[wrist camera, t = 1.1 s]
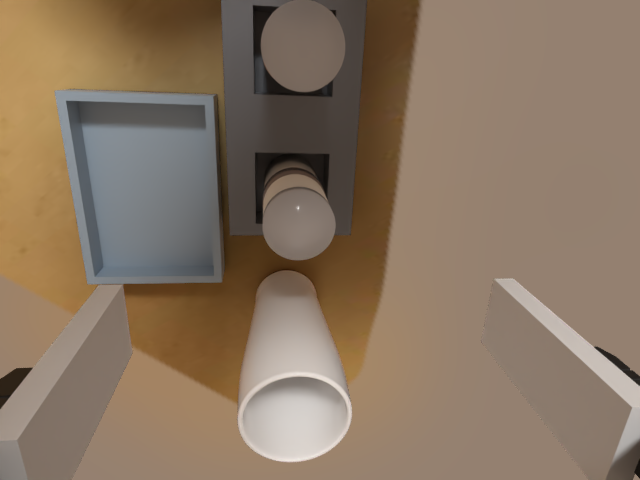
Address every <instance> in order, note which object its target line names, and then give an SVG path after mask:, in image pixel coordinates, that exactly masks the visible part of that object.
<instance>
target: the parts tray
mask: <svg viewBox="0 0 640 480" xmlns="http://www.w3.org/2000/svg"><path fill="white" fill-rule="evenodd" d="M55 96H56V102H57V108H58V114H59V120H60V125H61V131H62V137H63V143H64V149H65V155H66V161H67V166H68V172H69V178H70V184H71V190H72V196H73V201H74V207H75V213H76V219H77V225H78V231H79V236H80V242H81V248H82V254H83V260H84V266H85V272H86V277H87V283H88V284H146V283H219V282H222V280H223V276H224V271H225V260H224V237H223V214H222V191H221V168H220V145H219V121H218V98H217V94H196V93H168V92H139V91H111V90H83V89H66V90H56V91H55Z"/></svg>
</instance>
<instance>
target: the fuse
mask: <svg viewBox="0 0 640 480" xmlns="http://www.w3.org/2000/svg"><path fill="white" fill-rule="evenodd" d="M261 53H262V58H263V62H264V65H265V67H266V69H267V71H268V72H269V74H270V75H271V76H272V77H273V78H274V79H275V80H276V81H277V82H278V83H279V84H281V85H282V86H284V87H285V88H287V89H290V90H293V91H297V92H310V91H315V90H318V89H320V88H322V87H324V86H325V85H327V84H328V83H329V82H331V81H332V80H333V78H334V77H335V76H336V75H337V73H338V72H339V70H340V68H341V66H342V63H343V60H344V56H345V37H344V33H343V30H342V27H341V25H340V23H339V21H338V20H337V18H336V17H335V15H334V14H333V13H332V12H331V11H330V10H329V9H327V8H326V7H325V6H323V5H322V4H319V3H317V2H315V1H311V0H293V1H290V2H287V3H285V4H283V5H282V6H280V7H279V8H277V9H276V10H275V11H274V12H273V13H272V14H271V16H270V17H269V18H268V20H267V22H266V24H265V26H264V29H263V32H262V37H261Z"/></svg>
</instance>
